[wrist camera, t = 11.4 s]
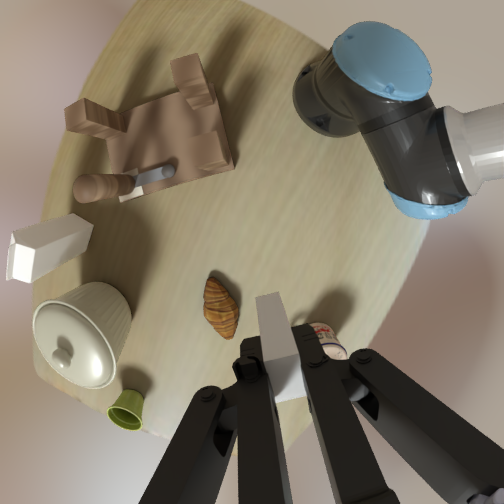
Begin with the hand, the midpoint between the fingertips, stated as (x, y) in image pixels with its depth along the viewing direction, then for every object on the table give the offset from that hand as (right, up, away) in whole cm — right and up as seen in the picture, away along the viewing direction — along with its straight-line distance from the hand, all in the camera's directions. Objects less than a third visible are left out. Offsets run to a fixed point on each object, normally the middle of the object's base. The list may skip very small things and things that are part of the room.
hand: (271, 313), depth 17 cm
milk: (-36, +8, +30) cm, 48 cm away
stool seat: (-16, +23, +27) cm, 39 cm away
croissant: (-7, -7, +36) cm, 37 cm away
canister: (-32, -8, +35) cm, 48 cm away
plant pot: (-32, -34, +42) cm, 62 cm away
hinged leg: (-19, +16, +25) cm, 36 cm away
